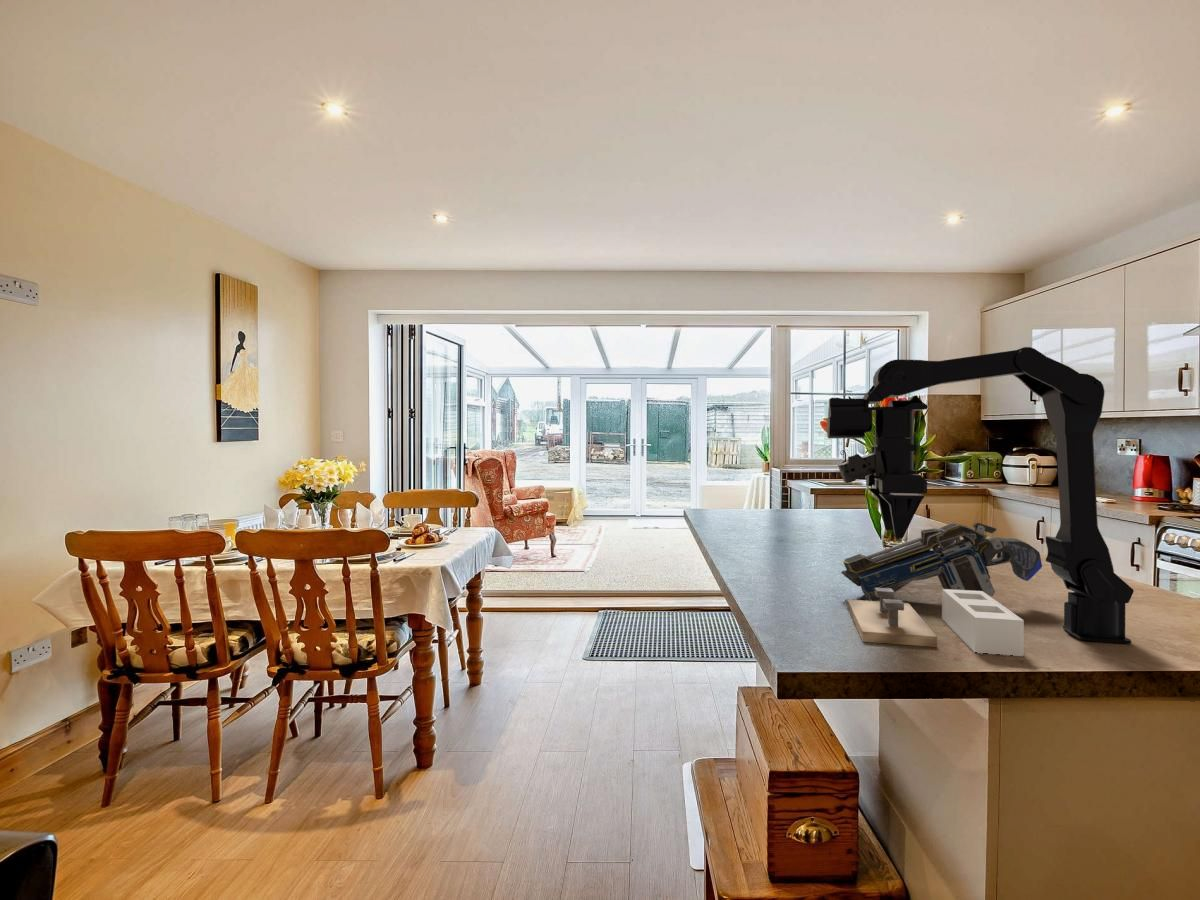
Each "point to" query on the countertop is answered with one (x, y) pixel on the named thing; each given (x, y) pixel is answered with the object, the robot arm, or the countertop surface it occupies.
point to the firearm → (943, 560)
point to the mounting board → (890, 621)
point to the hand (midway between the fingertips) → (893, 533)
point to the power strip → (983, 622)
